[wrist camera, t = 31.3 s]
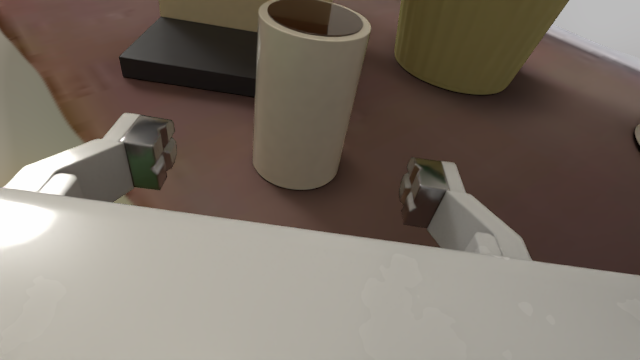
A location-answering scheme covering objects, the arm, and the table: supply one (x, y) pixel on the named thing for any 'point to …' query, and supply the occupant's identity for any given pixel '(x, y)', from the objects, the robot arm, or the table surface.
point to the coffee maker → (199, 46)
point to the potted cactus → (471, 40)
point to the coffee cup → (305, 89)
